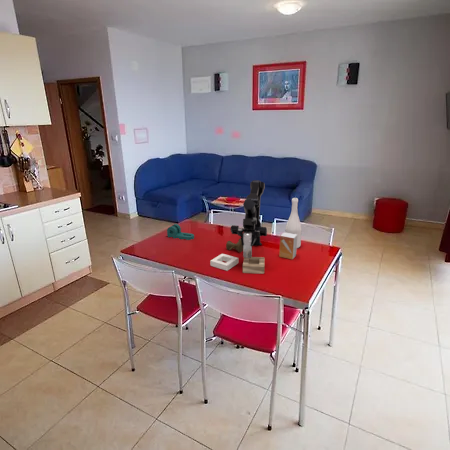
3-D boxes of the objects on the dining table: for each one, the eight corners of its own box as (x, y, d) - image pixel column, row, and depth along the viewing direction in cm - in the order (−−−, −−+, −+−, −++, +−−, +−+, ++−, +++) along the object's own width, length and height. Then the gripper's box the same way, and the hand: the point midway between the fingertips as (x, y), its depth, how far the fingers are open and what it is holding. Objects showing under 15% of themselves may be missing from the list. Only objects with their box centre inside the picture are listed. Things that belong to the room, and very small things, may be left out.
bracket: (167, 237, 212) (166, 226, 210) (172, 234, 218) (171, 223, 215) (191, 240, 206) (190, 229, 203) (196, 237, 212) (195, 226, 209)
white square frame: (222, 258, 179) (222, 253, 178) (238, 262, 173) (238, 258, 172) (210, 265, 171) (210, 260, 170) (227, 270, 165) (227, 265, 164)
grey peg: (242, 255, 167) (242, 232, 162) (250, 254, 168) (250, 231, 163) (244, 258, 163) (244, 235, 158) (252, 257, 163) (253, 234, 159)
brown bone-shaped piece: (252, 245, 198) (236, 256, 182) (238, 242, 203) (222, 253, 187) (252, 236, 196) (236, 246, 180) (238, 233, 201) (222, 243, 185)
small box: (279, 256, 179) (279, 235, 175) (282, 252, 185) (283, 232, 180) (292, 259, 176) (294, 238, 171) (296, 255, 181) (297, 234, 176)
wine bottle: (296, 250, 187) (299, 201, 177) (282, 246, 193) (284, 199, 183) (303, 245, 195) (306, 197, 185) (289, 241, 200) (291, 195, 190)
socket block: (244, 263, 173) (244, 256, 171) (264, 264, 171) (264, 257, 170) (242, 272, 162) (242, 265, 161) (264, 273, 161) (264, 266, 160)
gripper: (230, 210, 163) (226, 238, 156) (267, 212, 159) (264, 240, 152) (233, 220, 173) (230, 246, 166) (268, 221, 169) (265, 249, 162)
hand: (247, 245), depth 162 cm, fingers closed on grey peg, 4 cm apart
